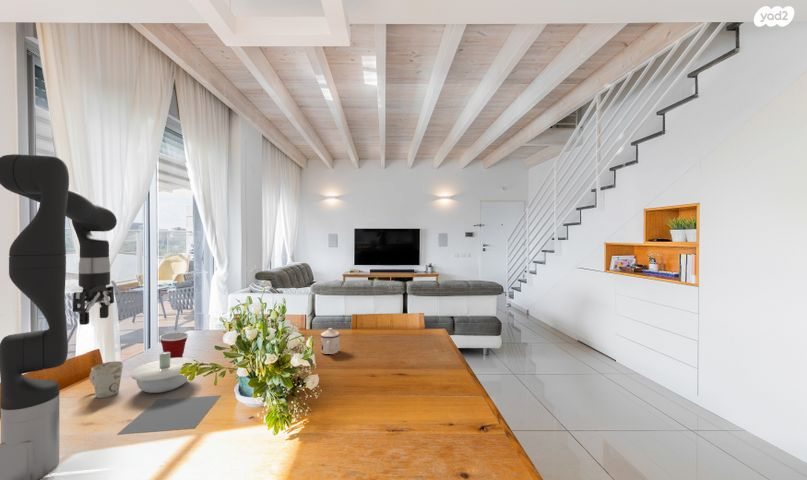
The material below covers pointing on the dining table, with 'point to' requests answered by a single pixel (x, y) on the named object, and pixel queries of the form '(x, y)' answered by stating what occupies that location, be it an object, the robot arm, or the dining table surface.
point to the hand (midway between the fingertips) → (94, 320)
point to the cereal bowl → (162, 384)
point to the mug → (106, 378)
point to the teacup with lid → (330, 341)
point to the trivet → (171, 415)
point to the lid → (160, 368)
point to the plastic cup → (174, 343)
